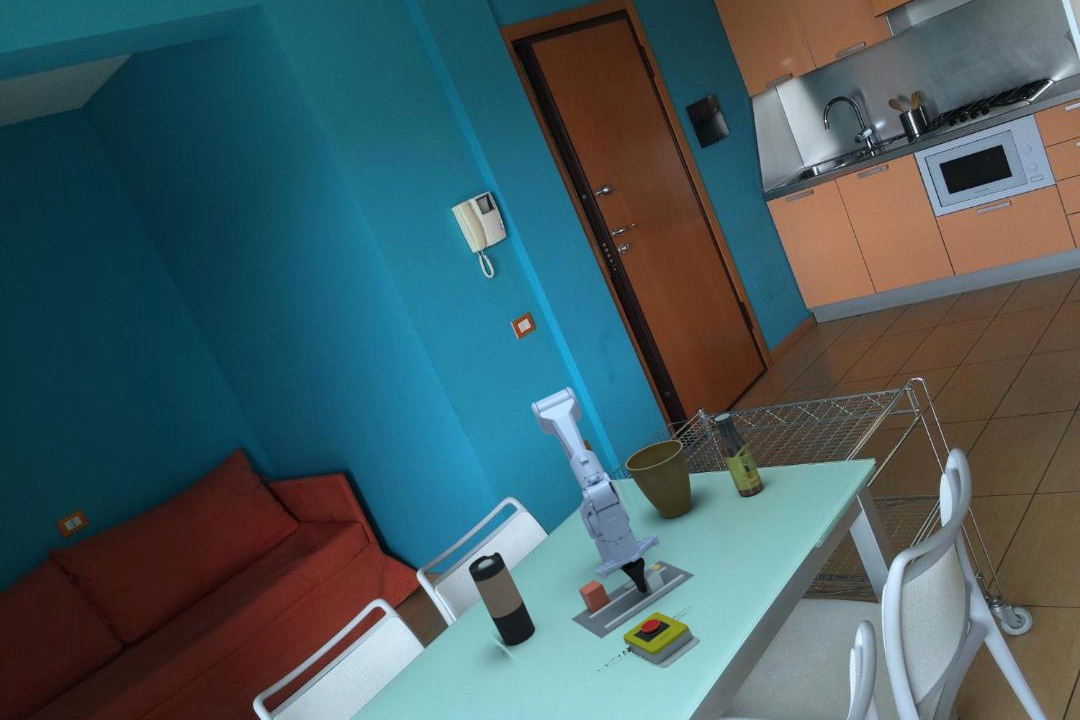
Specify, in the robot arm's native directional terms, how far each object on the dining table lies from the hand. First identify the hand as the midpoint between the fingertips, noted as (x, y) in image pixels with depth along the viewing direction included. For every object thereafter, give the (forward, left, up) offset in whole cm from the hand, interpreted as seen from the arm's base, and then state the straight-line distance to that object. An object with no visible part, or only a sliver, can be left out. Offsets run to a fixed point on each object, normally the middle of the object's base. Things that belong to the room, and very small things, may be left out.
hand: (643, 590), depth 190 cm
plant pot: (-29, +28, -3) cm, 41 cm away
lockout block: (-7, -8, -1) cm, 11 cm away
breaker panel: (-2, -2, -3) cm, 4 cm away
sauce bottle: (-16, +42, -3) cm, 45 cm away
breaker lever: (0, +3, -1) cm, 3 cm away
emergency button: (+16, -7, -3) cm, 18 cm away
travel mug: (-16, -24, -3) cm, 29 cm away
